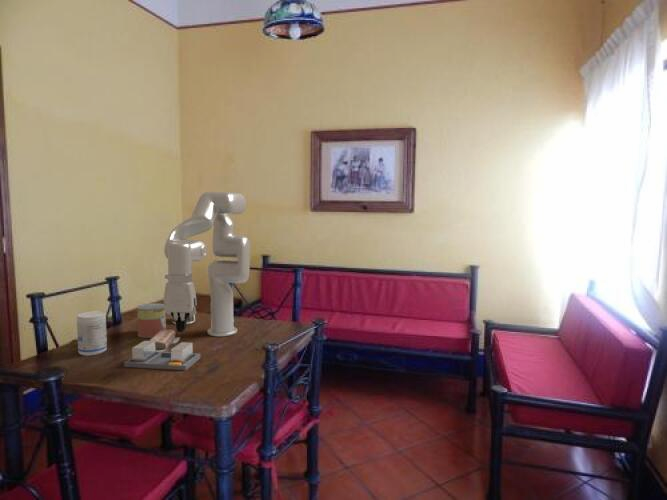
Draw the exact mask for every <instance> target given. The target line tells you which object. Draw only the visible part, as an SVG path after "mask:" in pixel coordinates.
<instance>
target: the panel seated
mask: <svg viewBox="0 0 667 500" xmlns="http://www.w3.org/2000/svg"><path fill="white" fill-rule="evenodd" d="M131 348H132V349H131V351H132V352H131V353H132V357H133V362H146V361H148V360H149V359H151V358H152V357H154V356H155V355H156V353H155V341H149V340H144V341H141V342H140V343H138V344H137V345H135V346H133V347H131Z"/></svg>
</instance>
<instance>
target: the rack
mask: <svg viewBox="0 0 667 500" xmlns="http://www.w3.org/2000/svg"><path fill="white" fill-rule="evenodd" d="M159 351H160V350H158V351H155V353H156V355H155V356H154V357H152V358H151V359H149V360H148V361H146V362H133V356H131V358H128V359H126V360H125V361H124V362H123V367H124V368H139V369H140V368H141V369H155V370H156V369H157V370H172V371H187V370H188V369H190V367H192V366H193V365H194V364H195V363H197V362H198V361H199V360H200V359H201V353H195V352H194V353H193V358H192V359H190V360H189V361H188V362H187V363H186V364H184V365H181V364H182V363H180V362H171V351H164V352H159Z"/></svg>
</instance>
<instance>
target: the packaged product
mask: <svg viewBox="0 0 667 500" xmlns="http://www.w3.org/2000/svg"><path fill="white" fill-rule="evenodd" d="M180 339H181V337H180V336H176V331H175V330H174V329H166V330H160V331H159V332H158V333H157V334H156V335H155V336H154V337H152V338H149V340H148V341H155V351H159V352H166V351H169V350H170V346H171V345H172V344H177V343H178V342H179V341H180ZM168 348H169V349H168Z"/></svg>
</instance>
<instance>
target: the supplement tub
mask: <svg viewBox="0 0 667 500" xmlns="http://www.w3.org/2000/svg"><path fill="white" fill-rule="evenodd" d="M76 318H77V319H76V327H77V328H76V329H77V330H76V331H77V349H78V350H77V351H78V354H80V355H82V356H88V357H89V356H97V355H100V354H102V353H105V351H107V350H108V349H107V348H108V345H107V344H108V340H107V317H106V312H104V311H101V310H100V311H99V310H93V311H92V310H91V311H85V312H81V313H79V314H77V316H76Z"/></svg>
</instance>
